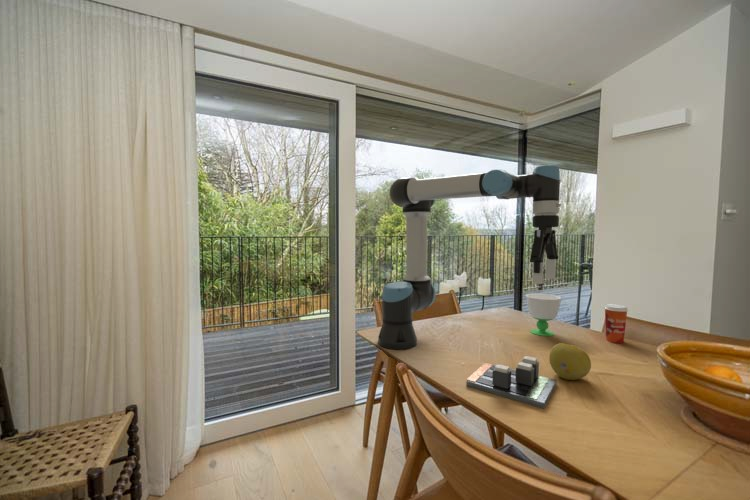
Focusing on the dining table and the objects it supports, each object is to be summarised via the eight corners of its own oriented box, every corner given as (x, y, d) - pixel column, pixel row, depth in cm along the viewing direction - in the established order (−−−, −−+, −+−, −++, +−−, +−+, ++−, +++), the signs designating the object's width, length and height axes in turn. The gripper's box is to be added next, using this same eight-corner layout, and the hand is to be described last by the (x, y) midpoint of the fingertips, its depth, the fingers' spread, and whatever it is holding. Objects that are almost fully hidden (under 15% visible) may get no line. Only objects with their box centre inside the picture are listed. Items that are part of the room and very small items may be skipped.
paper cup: (605, 342, 130) (607, 307, 129) (600, 336, 137) (601, 303, 136) (630, 345, 127) (631, 308, 126) (623, 339, 134) (625, 304, 133)
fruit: (590, 388, 92) (591, 353, 92) (547, 379, 98) (548, 346, 98) (590, 375, 101) (591, 342, 100) (550, 367, 107) (551, 336, 106)
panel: (465, 385, 95) (465, 379, 94) (485, 367, 107) (486, 362, 107) (543, 408, 82) (544, 402, 82) (556, 385, 95) (556, 379, 94)
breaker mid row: (515, 382, 92) (515, 364, 92) (518, 378, 95) (519, 361, 94) (531, 386, 90) (531, 367, 89) (533, 382, 92) (534, 364, 92)
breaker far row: (521, 375, 97) (521, 358, 96) (523, 371, 99) (524, 355, 99) (536, 378, 94) (536, 361, 94) (538, 375, 96) (538, 358, 96)
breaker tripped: (492, 384, 91) (492, 366, 90) (496, 380, 93) (496, 363, 93) (507, 388, 88) (507, 370, 88) (511, 384, 91) (511, 366, 90)
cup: (561, 331, 144) (562, 295, 144) (559, 340, 133) (560, 300, 132) (527, 326, 152) (527, 292, 151) (522, 334, 140) (523, 297, 139)
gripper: (546, 213, 95) (545, 287, 96) (568, 215, 113) (567, 277, 114) (519, 214, 100) (518, 284, 101) (544, 216, 118) (543, 275, 119)
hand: (544, 281), depth 108 cm, fingers open, 13 cm apart
